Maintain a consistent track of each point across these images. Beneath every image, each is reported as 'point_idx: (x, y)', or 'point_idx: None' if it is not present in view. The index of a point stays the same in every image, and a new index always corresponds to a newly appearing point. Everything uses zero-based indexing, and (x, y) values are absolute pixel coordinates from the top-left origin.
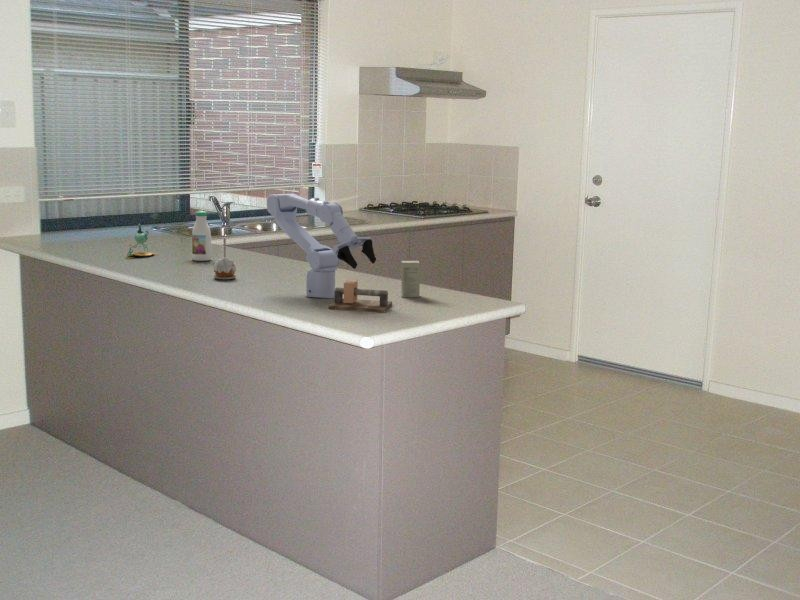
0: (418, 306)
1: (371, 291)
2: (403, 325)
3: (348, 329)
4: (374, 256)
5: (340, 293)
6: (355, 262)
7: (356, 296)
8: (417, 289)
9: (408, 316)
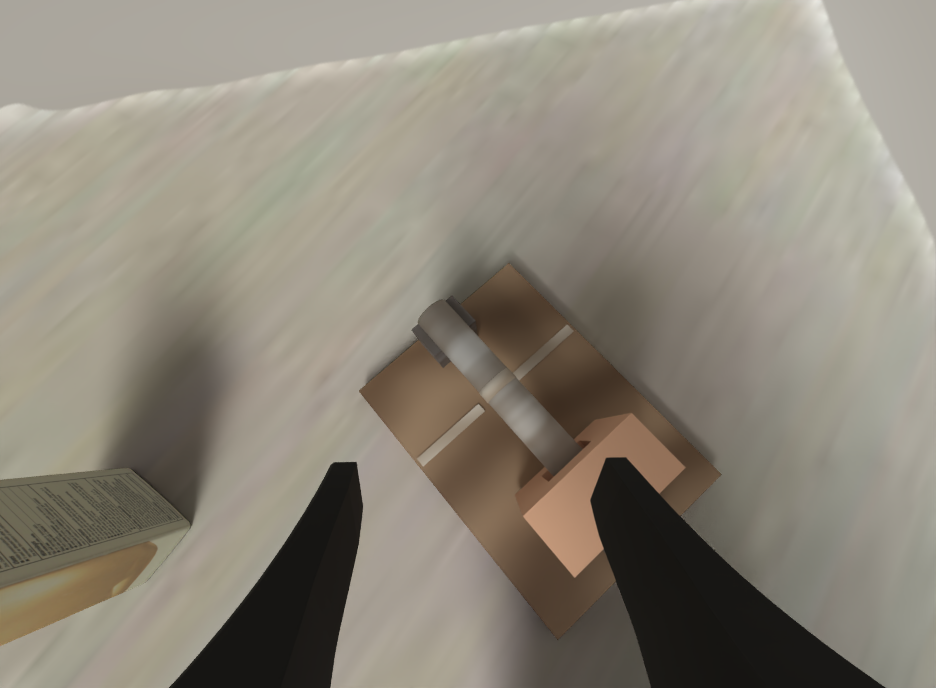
0: (289, 301)
1: (501, 366)
2: (577, 62)
3: (812, 93)
4: (327, 490)
5: None
6: (632, 476)
7: (533, 481)
8: (95, 477)
9: (463, 166)
